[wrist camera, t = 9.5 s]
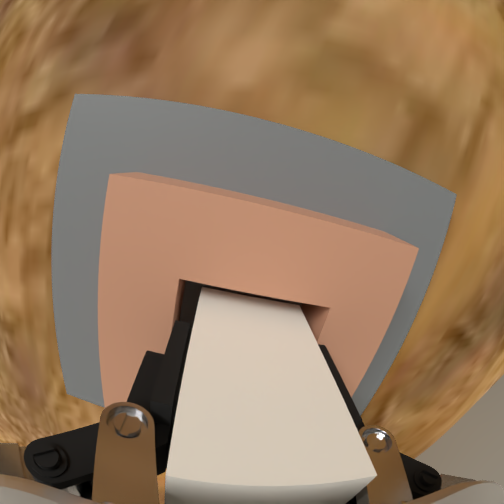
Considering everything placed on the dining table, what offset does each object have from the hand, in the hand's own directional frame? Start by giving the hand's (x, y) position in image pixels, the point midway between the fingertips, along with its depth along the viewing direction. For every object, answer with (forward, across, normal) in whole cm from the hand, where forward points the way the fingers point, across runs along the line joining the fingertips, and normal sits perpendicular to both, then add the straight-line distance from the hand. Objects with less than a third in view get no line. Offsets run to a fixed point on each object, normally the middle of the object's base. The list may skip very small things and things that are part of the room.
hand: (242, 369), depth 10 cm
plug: (+2, 0, 0) cm, 2 cm away
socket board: (+5, 0, 0) cm, 5 cm away
